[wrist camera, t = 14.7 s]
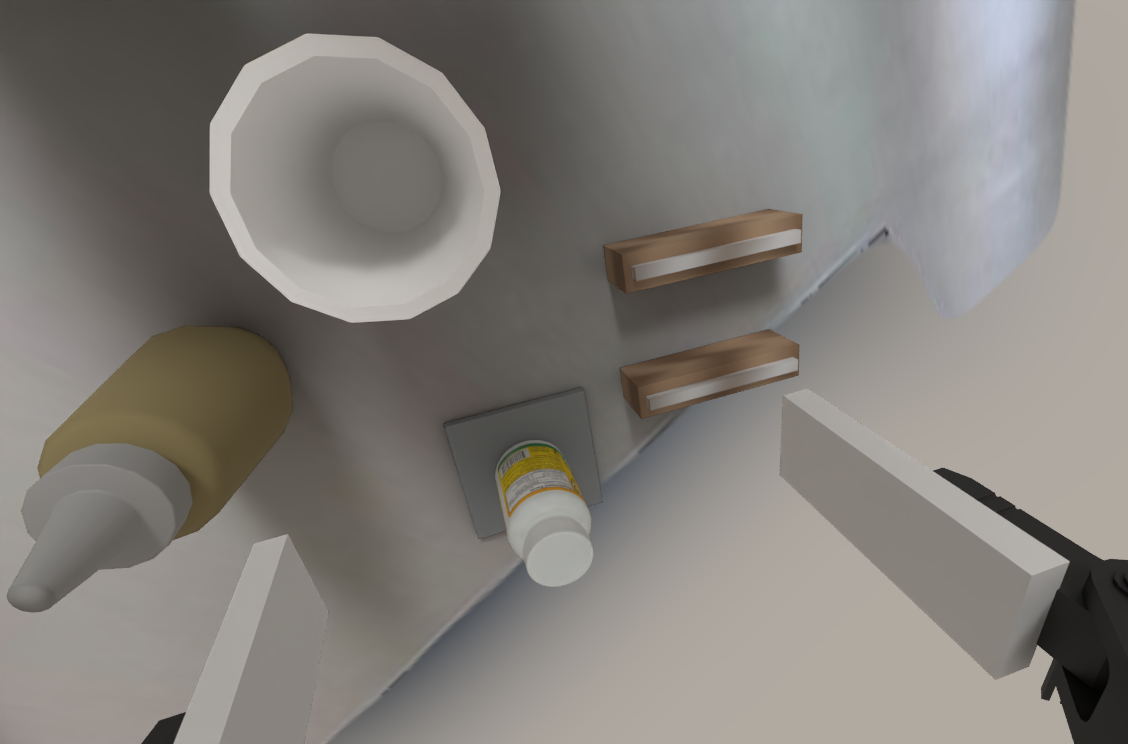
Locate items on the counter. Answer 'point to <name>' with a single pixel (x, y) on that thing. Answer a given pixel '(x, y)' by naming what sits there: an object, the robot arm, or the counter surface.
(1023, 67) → the counter surface
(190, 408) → the squeeze bottle
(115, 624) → the counter surface
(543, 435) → the mat
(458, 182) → the foam cup
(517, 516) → the supplement bottle
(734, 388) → the wooden blocks
